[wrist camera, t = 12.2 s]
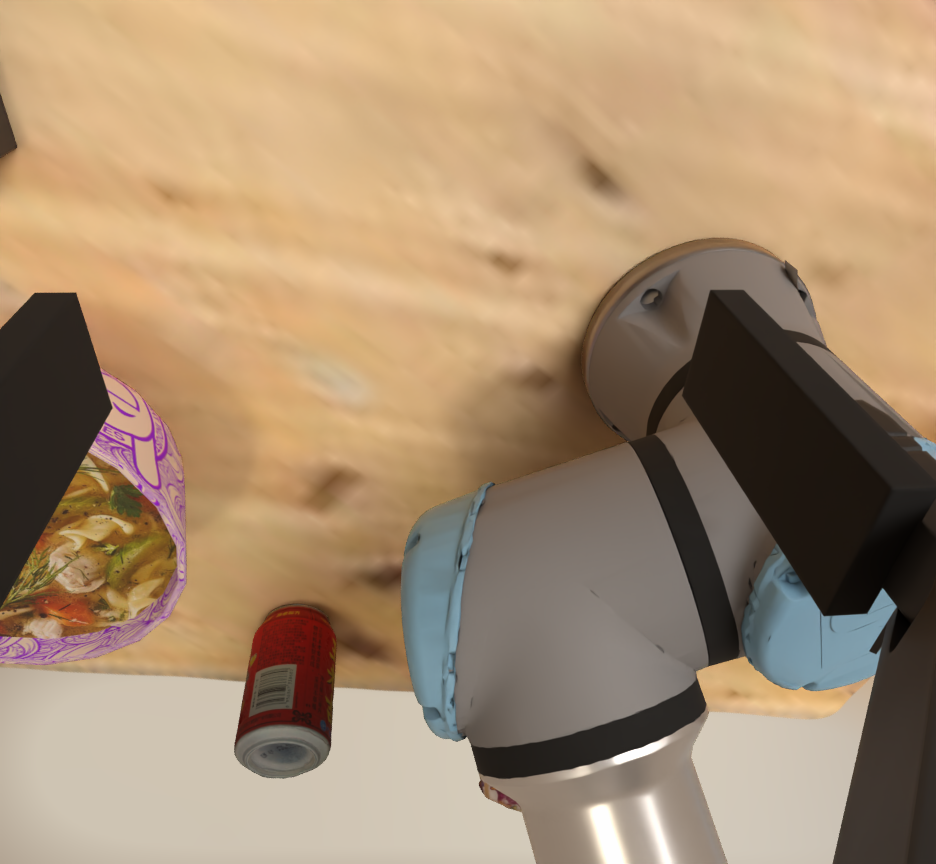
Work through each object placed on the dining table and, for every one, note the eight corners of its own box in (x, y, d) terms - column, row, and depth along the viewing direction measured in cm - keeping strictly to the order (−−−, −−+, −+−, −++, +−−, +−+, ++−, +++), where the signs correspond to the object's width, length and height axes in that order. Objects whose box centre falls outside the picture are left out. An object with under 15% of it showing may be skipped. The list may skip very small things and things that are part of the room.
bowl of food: (197, 289, 41) (145, 395, 32) (242, 529, 53) (213, 657, 44) (-171, 285, 39) (-343, 399, 29) (-38, 537, 50) (-131, 675, 41)
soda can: (239, 616, 59) (211, 755, 49) (311, 588, 58) (298, 724, 48) (283, 658, 63) (266, 794, 53) (352, 633, 62) (347, 767, 52)
